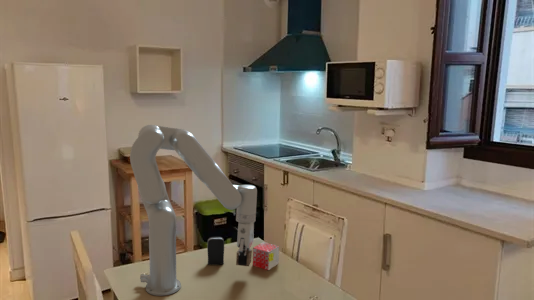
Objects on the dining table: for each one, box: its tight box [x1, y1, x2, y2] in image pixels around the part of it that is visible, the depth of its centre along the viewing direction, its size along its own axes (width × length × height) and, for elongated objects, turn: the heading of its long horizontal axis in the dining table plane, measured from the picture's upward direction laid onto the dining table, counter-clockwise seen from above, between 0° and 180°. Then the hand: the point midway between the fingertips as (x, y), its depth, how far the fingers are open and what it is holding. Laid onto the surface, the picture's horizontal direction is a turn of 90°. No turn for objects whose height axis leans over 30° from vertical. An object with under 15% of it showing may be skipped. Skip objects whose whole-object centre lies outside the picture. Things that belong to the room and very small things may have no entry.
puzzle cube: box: [252, 241, 280, 271], centre depth 179 cm, size 8×8×8 cm
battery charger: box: [206, 236, 225, 266], centre depth 179 cm, size 7×4×11 cm, turn 100°
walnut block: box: [235, 248, 253, 267], centre depth 166 cm, size 5×5×5 cm
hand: (243, 261), depth 166 cm, fingers closed on walnut block, 5 cm apart
